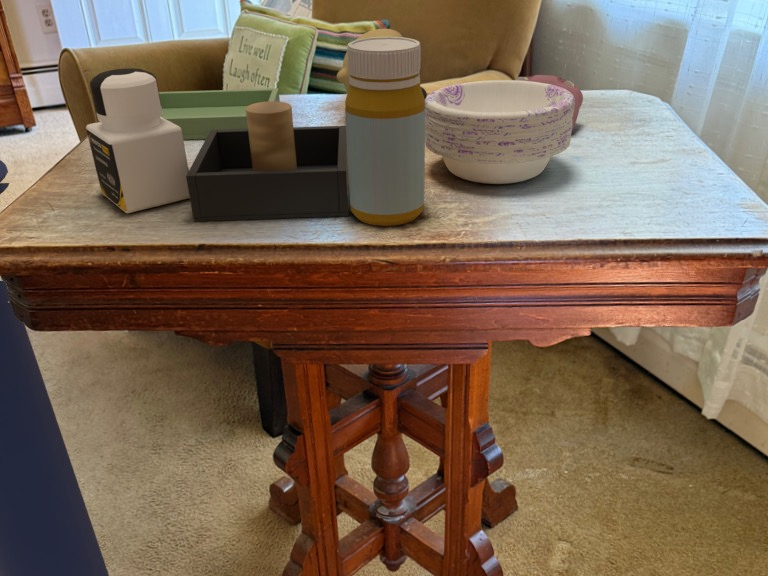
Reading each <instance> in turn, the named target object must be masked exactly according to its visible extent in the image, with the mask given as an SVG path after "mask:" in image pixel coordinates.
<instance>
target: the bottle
mask: <svg viewBox="0 0 768 576" xmlns="http://www.w3.org/2000/svg"><path fill="white" fill-rule="evenodd" d="M402 37H403V36H402ZM402 37H373V38H364V39H359V40H356V39H355V40H351V41H349V42H348V43H347V47H346V48H347V49H346V52H347V53H348V70H349V73H350V74H349V83H350V86H349V90H348V93H347V92H346V93H347V94H346V97H345V100H344V104H345V105H344V106H345V107H344V114H345V115H344V116H345V126H346V137H347V157H348V178H349V196H348V199H349V208H350V211H351V213H352V214H353V215H354V216H355V218H357V219H358V220H359V221H360V222H363V223H365V224H368V225H373V226H379V227H380V226H381V227H390V226H391V227H392V226H400V225H404V224H405V225H406V224H408V223H410V222H412V221H414V220H416V219H417V218H418V217H419V216H420V214H421V213H422V212H423V211H424V208H425V186H426V185H425V181H426V180H425V179H426V177H425V173H426V172H425V171H426V167H425V166H426V165H425V164H426V144H425V99H424V96H423V92H422V89H421V87H422V86H421V85H420V83H419V82H421V72H420V71H421V65H422V64H421V63H422V62H421V59H422V55H421V54H422V52H421V51H422V47H421V42H420V41H419V40H417V39H414V38H409V37H403V38H402Z"/></svg>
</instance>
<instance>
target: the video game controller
mask: <svg viewBox="0 0 768 576" xmlns="http://www.w3.org/2000/svg"><path fill="white" fill-rule="evenodd" d="M515 80H519V81H531V82H539V83H545V84H551V85H555V86H558V87H561V88H564V89H566V90H568V91H569V92H570V93H572V95H573V96H574V102H575V105H574V113H573V118H572V120H573V122H572V130H573V129H574V127H575V125H576V123H577V120H578V116H579V113H580V109H581V106H582V105H583V101H584V95H583V91H581V89H580V88H579V87H578V86H577V85H576V84H574V82H573V81H570V80H567V79H565V78H562V77H559V76H556V75H550V74H549V75H547V74H534V75H531V76H518V77H517V78H516V79H515Z"/></svg>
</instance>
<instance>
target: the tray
mask: <svg viewBox="0 0 768 576" xmlns="http://www.w3.org/2000/svg"><path fill="white" fill-rule="evenodd" d="M279 89H280V88H277V87H276V88H275V87H274V88H248V89H247V88H244V89H242V88H241V89H217V90H216V89H214V90H184V91H183V90H182V91H181V90H179V91H159V95H160V101H161V106H162V112H163V114H162V116H160V117H162V118H164V119H166V120H168V121H170V122H172V123H173V124H175V125H177V126H179V127H180V128H181V130H182V135H183V141H185V140H206V138H207V136H208V134H209V132H210V130H228V129H248V125H247V117H246V107H247V106H249V105H251V104H255V103H259V102H268V101H278V102H281V101H280V100H281V99H280V91H279Z"/></svg>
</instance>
